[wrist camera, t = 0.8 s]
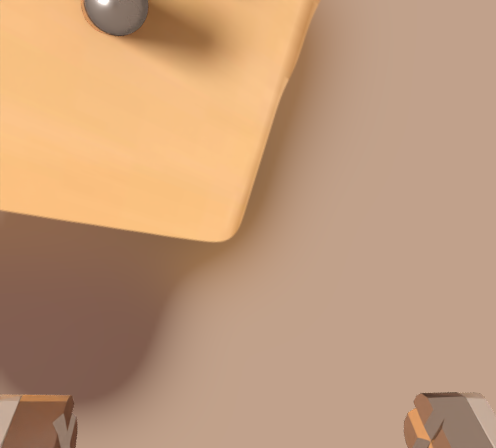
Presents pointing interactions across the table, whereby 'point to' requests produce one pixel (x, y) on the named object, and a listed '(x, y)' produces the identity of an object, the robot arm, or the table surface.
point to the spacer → (115, 15)
